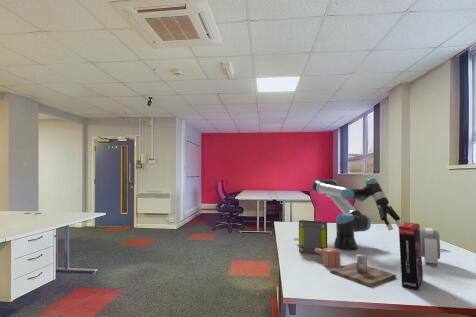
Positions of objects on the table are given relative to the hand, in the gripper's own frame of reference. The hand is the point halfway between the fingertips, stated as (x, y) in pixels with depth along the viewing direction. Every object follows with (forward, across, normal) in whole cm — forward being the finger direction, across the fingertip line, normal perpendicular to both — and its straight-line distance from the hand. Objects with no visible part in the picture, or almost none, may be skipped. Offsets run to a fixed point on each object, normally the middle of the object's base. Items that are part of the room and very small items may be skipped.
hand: (396, 229), depth 168 cm
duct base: (+22, -46, +6) cm, 51 cm away
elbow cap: (+11, -45, +25) cm, 53 cm away
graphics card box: (+31, -36, -10) cm, 48 cm away
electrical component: (0, -34, +42) cm, 54 cm away
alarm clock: (+22, +6, -5) cm, 24 cm away
